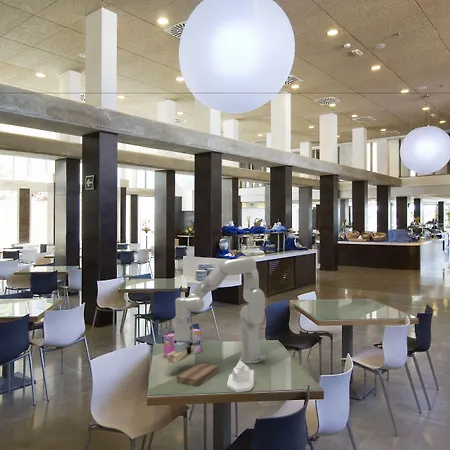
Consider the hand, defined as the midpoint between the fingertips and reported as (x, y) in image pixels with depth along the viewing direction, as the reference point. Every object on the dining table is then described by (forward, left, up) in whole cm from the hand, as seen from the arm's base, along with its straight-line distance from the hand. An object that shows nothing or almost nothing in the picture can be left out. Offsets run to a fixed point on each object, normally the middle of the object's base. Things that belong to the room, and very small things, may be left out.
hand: (184, 353), depth 228 cm
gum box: (+15, -22, -9) cm, 27 cm away
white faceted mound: (-40, +11, -9) cm, 42 cm away
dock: (-14, +8, -8) cm, 18 cm away
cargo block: (0, +5, +3) cm, 5 cm away
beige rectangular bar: (0, +3, -1) cm, 3 cm away
